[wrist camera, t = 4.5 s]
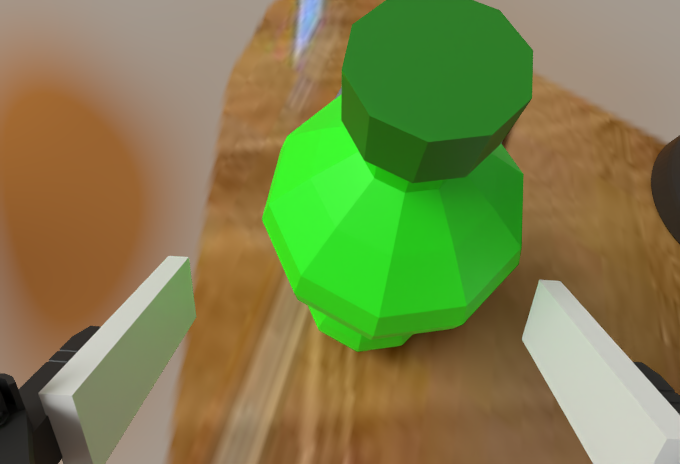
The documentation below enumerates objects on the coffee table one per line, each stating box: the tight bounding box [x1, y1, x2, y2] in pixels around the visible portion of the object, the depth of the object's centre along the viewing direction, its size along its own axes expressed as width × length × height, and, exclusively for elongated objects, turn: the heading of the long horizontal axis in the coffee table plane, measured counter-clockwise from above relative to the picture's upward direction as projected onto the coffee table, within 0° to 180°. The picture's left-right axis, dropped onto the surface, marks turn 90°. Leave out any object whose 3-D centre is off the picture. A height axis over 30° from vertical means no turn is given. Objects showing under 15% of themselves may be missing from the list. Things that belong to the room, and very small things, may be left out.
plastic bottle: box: [262, 0, 533, 352], centre depth 20 cm, size 10×11×25 cm
